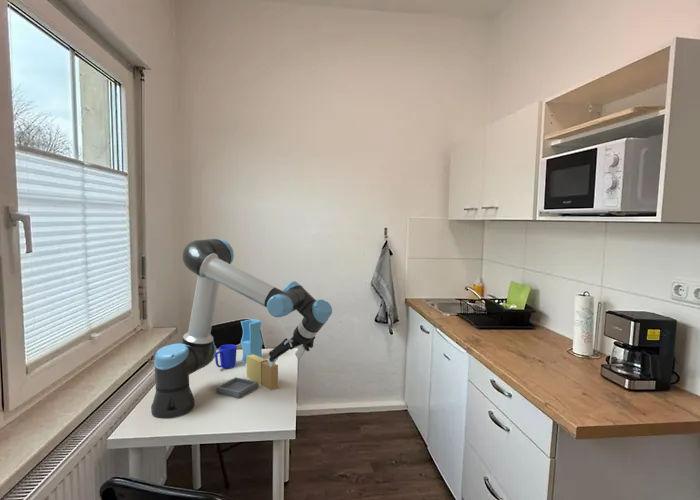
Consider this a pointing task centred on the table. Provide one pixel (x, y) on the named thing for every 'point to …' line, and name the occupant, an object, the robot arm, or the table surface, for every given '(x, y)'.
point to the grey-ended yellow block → (254, 368)
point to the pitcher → (251, 338)
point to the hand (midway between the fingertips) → (283, 360)
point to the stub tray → (237, 387)
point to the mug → (226, 356)
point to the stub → (269, 376)
